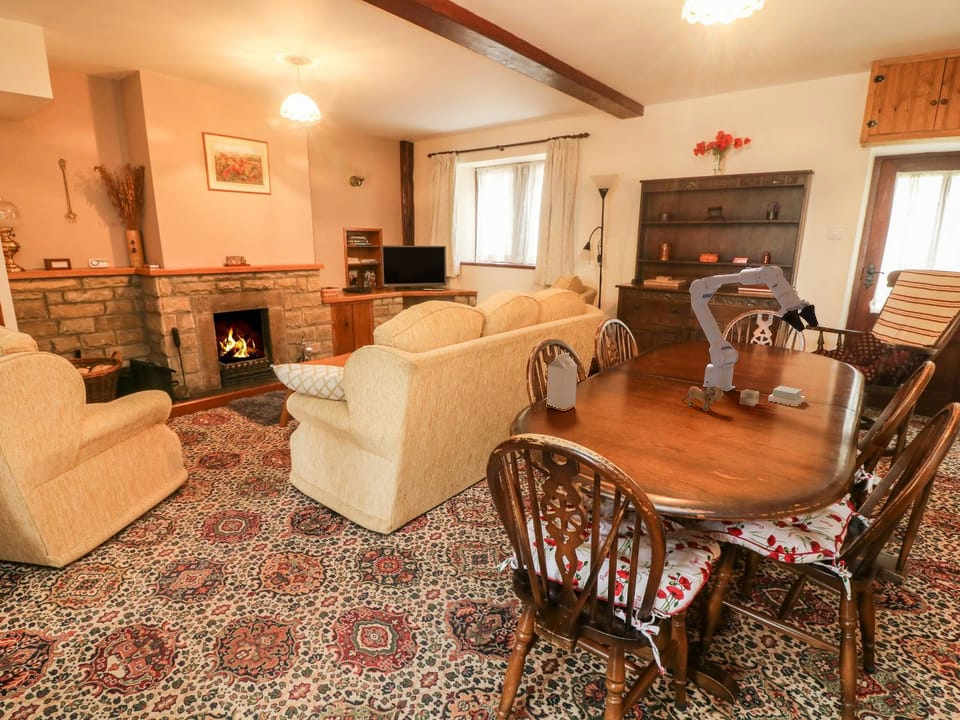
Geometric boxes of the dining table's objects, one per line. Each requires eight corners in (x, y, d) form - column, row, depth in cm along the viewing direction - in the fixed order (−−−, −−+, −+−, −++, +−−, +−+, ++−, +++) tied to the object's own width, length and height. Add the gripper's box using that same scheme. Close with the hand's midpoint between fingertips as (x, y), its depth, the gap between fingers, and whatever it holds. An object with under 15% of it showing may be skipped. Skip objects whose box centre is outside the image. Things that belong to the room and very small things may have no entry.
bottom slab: (767, 402, 178) (768, 395, 178) (776, 397, 184) (777, 391, 184) (795, 408, 172) (797, 401, 171) (804, 403, 178) (805, 396, 177)
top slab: (772, 396, 177) (773, 389, 177) (779, 392, 182) (779, 385, 181) (794, 400, 172) (795, 393, 172) (800, 396, 177) (801, 389, 176)
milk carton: (546, 408, 169) (548, 354, 165) (558, 403, 174) (560, 350, 170) (563, 413, 164) (566, 357, 160) (575, 408, 169) (578, 353, 165)
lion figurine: (724, 411, 166) (727, 386, 164) (715, 414, 163) (718, 388, 161) (685, 400, 178) (687, 376, 176) (676, 403, 175) (678, 378, 173)
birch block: (739, 403, 175) (741, 391, 174) (744, 401, 178) (745, 389, 177) (752, 406, 172) (754, 394, 171) (757, 404, 175) (759, 391, 174)
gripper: (782, 291, 164) (806, 326, 160) (808, 285, 171) (832, 318, 166) (765, 303, 170) (788, 337, 165) (791, 297, 176) (813, 329, 172)
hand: (809, 328), depth 166 cm, fingers open, 7 cm apart
